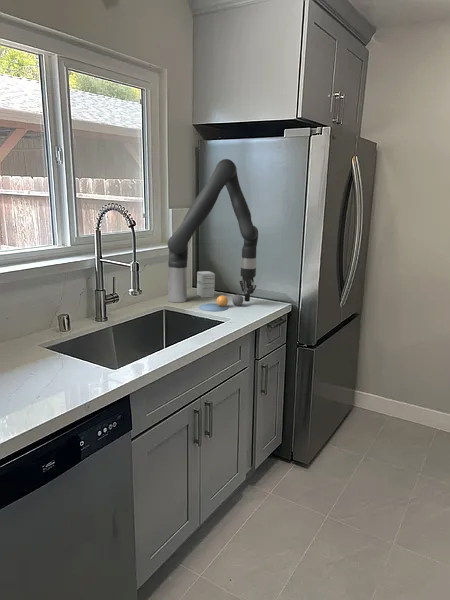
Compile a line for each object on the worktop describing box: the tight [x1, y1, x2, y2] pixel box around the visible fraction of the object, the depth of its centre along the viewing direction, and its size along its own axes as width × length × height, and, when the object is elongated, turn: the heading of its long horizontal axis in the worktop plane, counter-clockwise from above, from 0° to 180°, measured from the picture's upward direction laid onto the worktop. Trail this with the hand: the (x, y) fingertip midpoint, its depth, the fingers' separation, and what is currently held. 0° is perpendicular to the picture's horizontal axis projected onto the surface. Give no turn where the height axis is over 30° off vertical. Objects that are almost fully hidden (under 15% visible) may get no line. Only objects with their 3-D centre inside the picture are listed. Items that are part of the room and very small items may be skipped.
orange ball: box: [216, 295, 229, 307], centre depth 223 cm, size 6×6×6 cm
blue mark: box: [198, 303, 229, 312], centre depth 221 cm, size 14×14×1 cm
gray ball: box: [231, 294, 244, 307], centre depth 225 cm, size 6×6×6 cm
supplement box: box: [196, 270, 216, 299], centre depth 242 cm, size 7×7×13 cm
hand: (246, 301), depth 229 cm, fingers closed
